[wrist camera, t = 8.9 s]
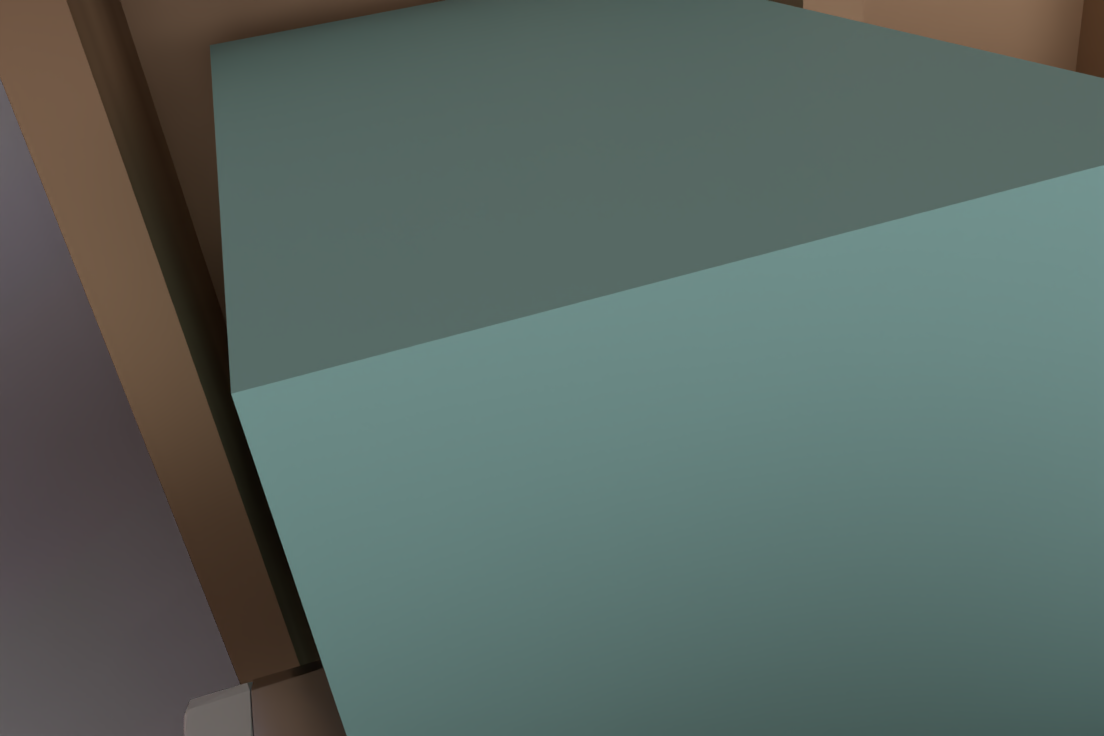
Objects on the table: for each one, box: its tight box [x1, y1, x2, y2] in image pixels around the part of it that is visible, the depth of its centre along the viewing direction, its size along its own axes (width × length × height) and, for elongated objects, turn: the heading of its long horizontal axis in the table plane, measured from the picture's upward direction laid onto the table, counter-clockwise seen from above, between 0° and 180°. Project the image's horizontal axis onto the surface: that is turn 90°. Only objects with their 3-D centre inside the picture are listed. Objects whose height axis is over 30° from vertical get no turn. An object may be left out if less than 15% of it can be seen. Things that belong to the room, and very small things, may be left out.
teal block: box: [210, 0, 1104, 736], centre depth 9 cm, size 4×10×7 cm, turn 8°
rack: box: [0, 0, 1104, 685], centre depth 14 cm, size 14×20×5 cm
